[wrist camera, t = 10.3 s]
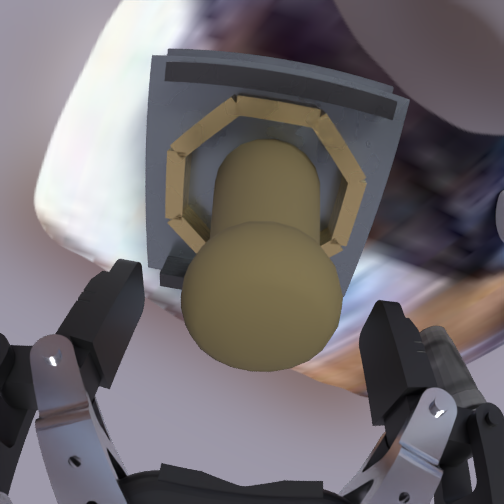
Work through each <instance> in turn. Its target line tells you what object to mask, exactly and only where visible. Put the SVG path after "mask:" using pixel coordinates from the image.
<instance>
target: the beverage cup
mask: <svg viewBox="0 0 504 504" xmlns="http://www.w3.org/2000/svg"><path fill="white" fill-rule="evenodd" d="M420 336H421V339H422V343H423V344H424V347H425V350H426V351H425V353H427V355H428V358H429V361H430V364H431V367H432V370H433V373H434V376H435V379H436V382H437V386H438V388H440V389H443V390H445V391H446V392H448V393H449V394H450V395H451V396H452V397H453V399H454V401H455V403H456V406H458V407H462V408H466V409H470V410H473V411H474V410H475V409H477V408H478V407H479V406H480V405H481V404H483V403H486V400H485V399H484V397H483V395H482V394H481V392H480V391H479V390H478V388H477V386H476V384H475V382H474V380H473V378H472V377H471V374H470V372H469V370H468V369H467V367H466V365H465V363H464V361H463V359H462V357H461V355H460V354H459V352H458V350H457V348H456V346H455V345H454V343H453V341H452V339H451V338H450V337H449V335H448V334H447V332H446V330H445V329H444V327H441V326H433V327H429V328H427V329H424V330H423V331H421V332H420ZM472 457H473V456H472ZM469 459H470V458H469Z"/></svg>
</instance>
